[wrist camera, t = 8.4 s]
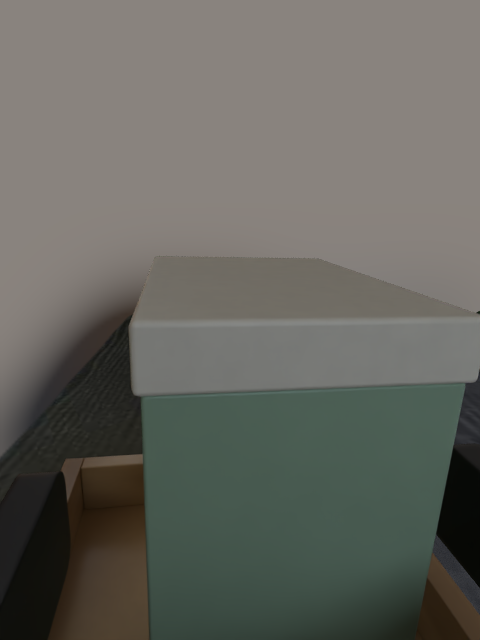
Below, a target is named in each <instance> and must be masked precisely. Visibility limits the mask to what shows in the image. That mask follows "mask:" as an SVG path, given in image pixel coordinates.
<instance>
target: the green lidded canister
mask: <svg viewBox="0 0 480 640" xmlns="http://www.w3.org/2000/svg"><path fill="white" fill-rule="evenodd" d="M129 347H130V370H131V390H132V392H133V394H134V395H135V396H141V398H140V399H141V426H142V453H143V481H144V508H145V536H146V563H147V590H148V618H149V640H415V636H416V631H417V626H418V621H419V616H420V611H421V606H422V601H423V596H424V591H425V586H426V581H427V576H428V571H429V566H430V561H431V556H432V551H433V546H434V541H435V536H436V531H437V526H438V521H439V516H440V511H441V506H442V500H443V495H444V490H445V485H446V480H447V475H448V470H449V465H450V460H451V455H452V450H453V445H454V440H455V435H456V430H457V425H458V420H459V415H460V410H461V405H462V400H463V395H464V390H465V383H473V382H475V381H476V380H477V378H478V374H479V369H480V314H477V313H474V312H471V311H468V310H465V309H462V308H460V307H456V306H454V305H451V304H448V303H445V302H442V301H439V300H436V299H434V298H430V297H428V296H425V295H422V294H419V293H416V292H413V291H410V290H407V289H405V288H402V287H399V286H396V285H393V284H390V283H387V282H384V281H381V280H379V279H376V278H372V277H370V276H367V275H364V274H361V273H358V272H355V271H352V270H349V269H347V268H344V267H341V266H338V265H335V264H332V263H329V262H326V261H323V260H321V259H309V258H308V259H306V258H242V257H241V258H240V257H173V256H157V257H155V258H154V261H153V263H152V266H151V269H150V271H149V274H148V277H147V279H146V282H145V285H144V287H143V290H142V293H141V295H140V298H139V300H138V303H137V306H136V308H135V311H134V314H133V316H132V319H131V322H130V324H129Z"/></svg>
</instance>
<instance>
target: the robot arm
mask: <svg viewBox="0 0 480 640" xmlns="http://www.w3.org/2000/svg"><path fill="white" fill-rule="evenodd" d="M436 534H437V536H438V537H439V538H440V539H441V541H442V542H443V543H444V544H445V546H446V547H447V548H448V549H449V550H450V552H451V553H452V554H453V555H454V557H455V558H456V559H457V560H458V562H459V563H460V564H461V565H462V566H463V568H464V569H465V570H466V571H467V573H468V574H469V575H470V576H471V578H472V579H473V580H474V581H475V583H476V584H477V585H478V586H479V587H480V445H479V444H461V445H453V450H452V455H451V460H450V465H449V470H448V475H447V480H446V485H445V490H444V495H443V500H442V506H441V511H440V516H439V521H438V526H437V531H436ZM70 548H71V535H70V524H69V514H68V504H67V493H66V483H65V477H64V474H63V472H62V471H59V472H44V473H30V474H20V475H18V476H17V477H16V478H15V480H14V482H13V483H12V485H11V487H10V489H9V490H8V492H7V494H6V495H5V497H4V499H3V501H2V502H1V504H0V640H48V637H49V633H50V630H51V626H52V623H53V620H54V616H55V613H56V609H57V606H58V602H59V599H60V595H61V592H62V588H63V585H64V581H65V578H66V574H67V570H68V565H69V559H70Z"/></svg>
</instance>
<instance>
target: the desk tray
mask: <svg viewBox="0 0 480 640" xmlns="http://www.w3.org/2000/svg"><path fill="white" fill-rule="evenodd" d="M61 471H62V472H63V474H64V477H65V483H66V493H67V504H68V514H69V524H70V535H71V548H70V559H69V565H68V570H67V574H66V578H65V581H64V585H63V588H62V592H61V595H60V599H59V602H58V606H57V609H56V613H55V616H54V620H53V623H52V626H51V630H50V633H49V637H48V640H149V618H148V590H147V563H146V536H145V508H144V481H143V454H137V455H121V456H106V457H90V458H72V459H66V460H65V462H64V464H63V467H62V469H61ZM415 640H480V615H479V614H478V612H477V611H476V610H475V608H474V607H473V606H472V604H471V603H470V602H469V600H468V599H467V598H466V597H465V595H464V594H463V593H462V591H461V590H460V589H459V587H458V586H457V585H456V583H455V582H454V581H453V579H452V578H451V577H450V575H449V574H448V573H447V571H446V570H445V569H444V567H443V566H442V565H441V563H440V562H439V561H438V559H437V558H436V557H435V555H434V554H433V553H432V556H431V561H430V566H429V571H428V576H427V581H426V586H425V591H424V596H423V601H422V606H421V611H420V616H419V621H418V626H417V631H416V636H415Z"/></svg>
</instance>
